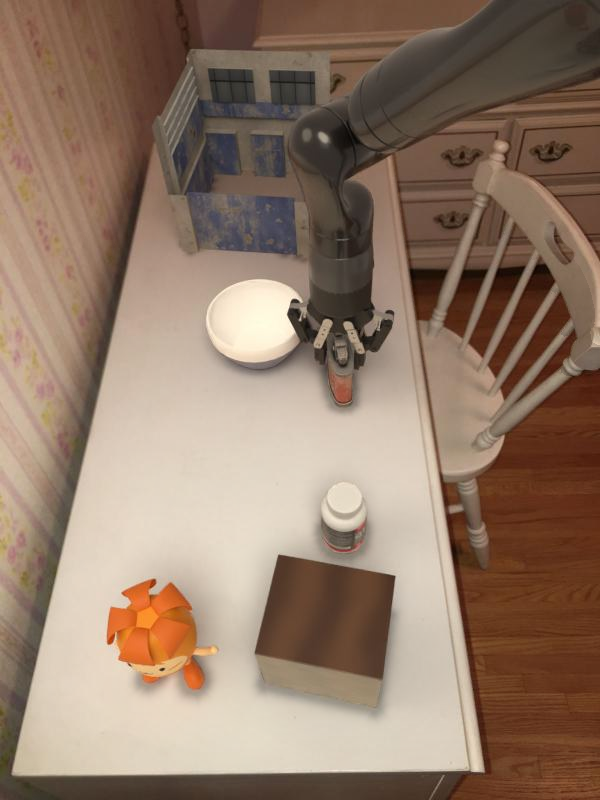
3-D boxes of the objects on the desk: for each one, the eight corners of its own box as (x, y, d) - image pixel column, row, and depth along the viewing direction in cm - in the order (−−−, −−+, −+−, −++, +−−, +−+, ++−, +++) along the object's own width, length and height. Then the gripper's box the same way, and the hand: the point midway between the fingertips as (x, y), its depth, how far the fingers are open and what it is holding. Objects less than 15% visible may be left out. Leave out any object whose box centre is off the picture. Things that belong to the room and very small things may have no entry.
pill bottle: (364, 556, 78) (367, 520, 70) (320, 553, 78) (318, 517, 70) (366, 515, 81) (369, 477, 73) (323, 513, 81) (322, 474, 73)
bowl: (326, 336, 99) (326, 301, 93) (271, 401, 92) (267, 367, 86) (251, 301, 104) (245, 265, 98) (193, 359, 97) (184, 325, 91)
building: (331, 175, 123) (330, 50, 104) (314, 259, 109) (310, 133, 91) (213, 169, 126) (191, 46, 107) (182, 251, 112) (151, 126, 93)
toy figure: (116, 688, 70) (70, 649, 58) (138, 615, 75) (100, 565, 63) (222, 704, 69) (198, 668, 56) (237, 629, 73) (218, 581, 61)
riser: (387, 614, 73) (395, 575, 64) (375, 707, 68) (382, 680, 58) (285, 594, 75) (278, 553, 66) (265, 684, 70) (254, 653, 60)
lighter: (356, 406, 91) (358, 360, 83) (333, 409, 91) (332, 364, 83) (346, 362, 96) (347, 315, 88) (324, 365, 95) (322, 319, 87)
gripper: (274, 284, 74) (284, 376, 88) (398, 298, 72) (388, 391, 86) (288, 241, 78) (295, 336, 92) (405, 253, 76) (395, 348, 90)
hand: (340, 362), depth 89 cm, fingers closed on lighter, 4 cm apart
